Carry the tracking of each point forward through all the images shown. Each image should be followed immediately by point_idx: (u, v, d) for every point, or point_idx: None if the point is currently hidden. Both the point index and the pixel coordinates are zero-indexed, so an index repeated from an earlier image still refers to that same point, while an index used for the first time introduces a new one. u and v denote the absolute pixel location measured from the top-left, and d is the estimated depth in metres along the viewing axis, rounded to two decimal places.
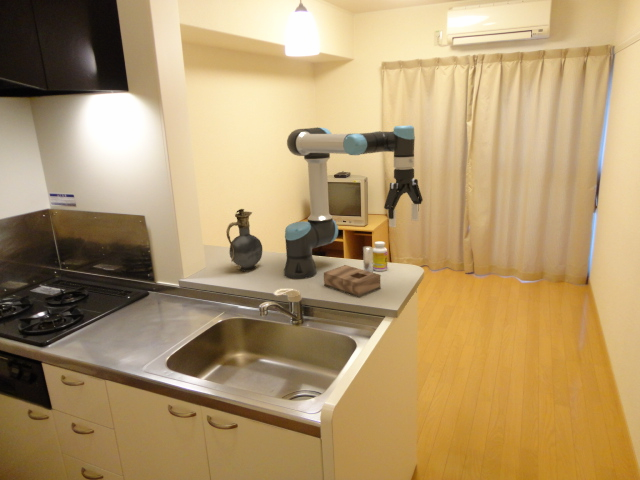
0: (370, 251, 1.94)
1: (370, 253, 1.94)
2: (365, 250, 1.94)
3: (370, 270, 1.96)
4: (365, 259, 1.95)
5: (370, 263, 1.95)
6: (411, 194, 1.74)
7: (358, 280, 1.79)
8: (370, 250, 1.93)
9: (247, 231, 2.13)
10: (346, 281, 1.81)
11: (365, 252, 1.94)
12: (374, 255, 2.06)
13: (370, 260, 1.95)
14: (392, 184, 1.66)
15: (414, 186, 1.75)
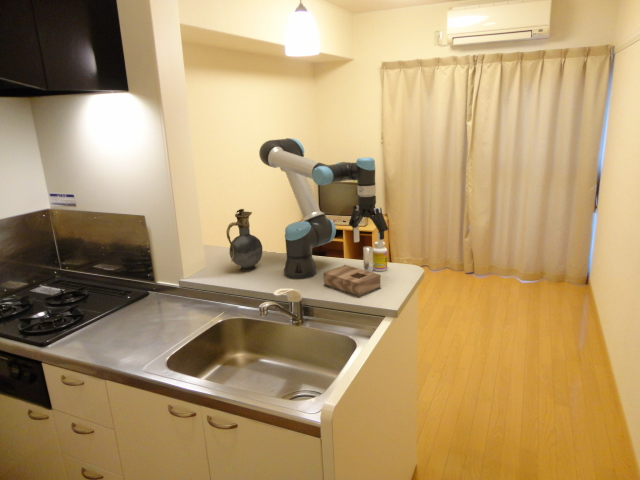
0: (370, 251, 1.94)
1: (370, 253, 1.94)
2: (365, 250, 1.94)
3: (370, 270, 1.96)
4: (365, 259, 1.95)
5: (370, 263, 1.95)
6: None
7: (358, 280, 1.79)
8: (370, 250, 1.93)
9: (247, 231, 2.13)
10: (346, 281, 1.81)
11: (365, 252, 1.94)
12: (374, 255, 2.06)
13: (370, 260, 1.95)
14: None
15: None
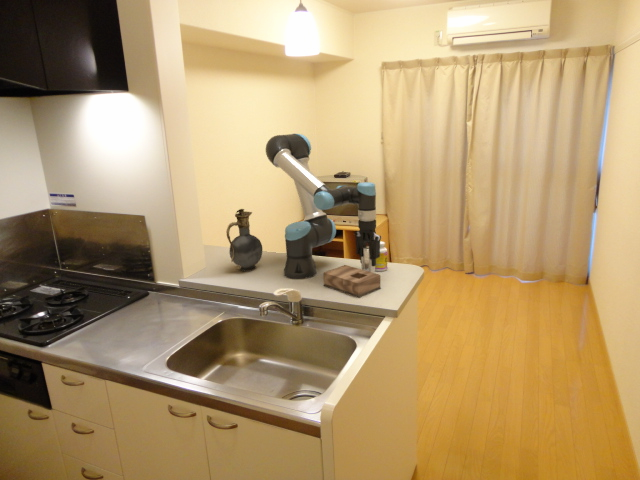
0: None
1: None
2: (365, 250, 1.94)
3: None
4: (365, 259, 1.95)
5: None
6: None
7: (358, 280, 1.79)
8: None
9: (247, 231, 2.13)
10: (346, 281, 1.81)
11: (365, 252, 1.94)
12: None
13: None
14: None
15: None
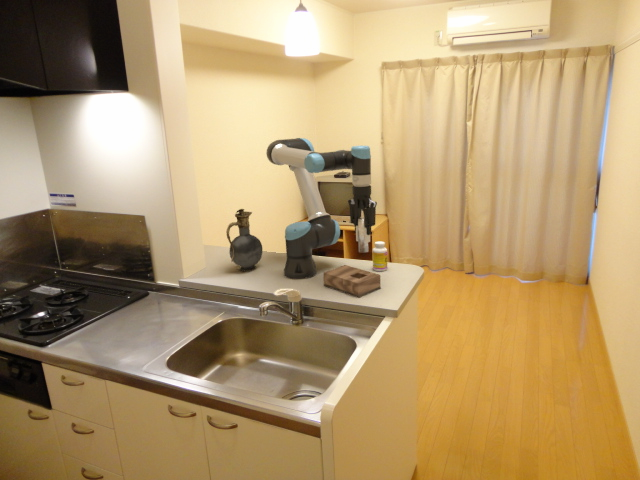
0: None
1: (365, 224, 1.84)
2: (360, 221, 1.84)
3: None
4: (360, 230, 1.85)
5: None
6: None
7: (358, 280, 1.79)
8: None
9: (247, 231, 2.13)
10: (346, 281, 1.81)
11: (360, 223, 1.84)
12: (374, 255, 2.06)
13: None
14: None
15: None
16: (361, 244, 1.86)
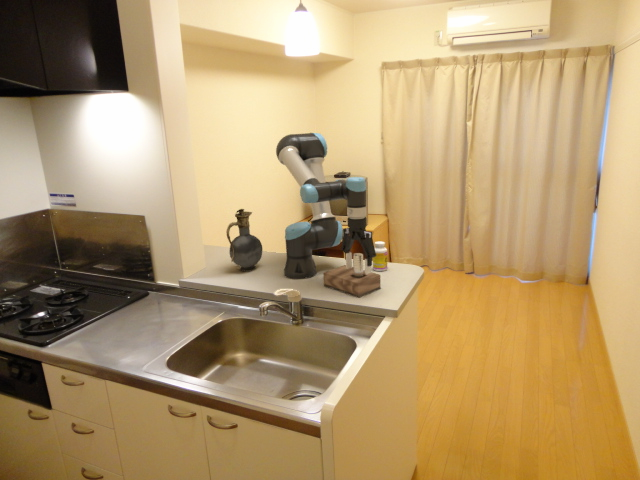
0: (360, 258, 1.81)
1: (360, 260, 1.81)
2: (355, 257, 1.81)
3: None
4: (355, 267, 1.82)
5: (360, 271, 1.82)
6: None
7: (358, 280, 1.79)
8: (360, 257, 1.81)
9: (247, 231, 2.13)
10: (346, 281, 1.81)
11: (355, 259, 1.81)
12: None
13: (360, 268, 1.82)
14: None
15: None
16: None
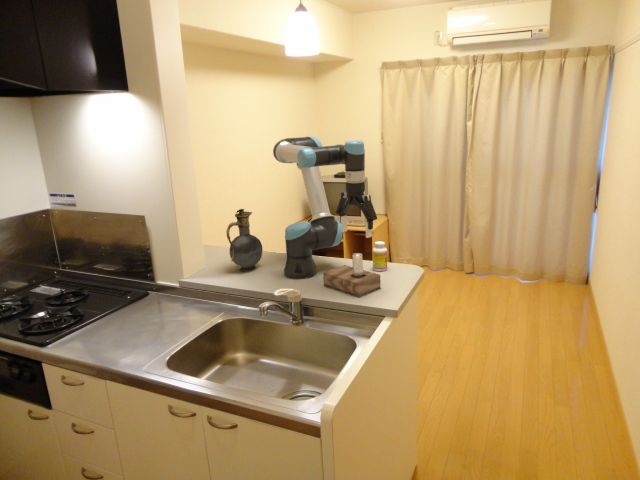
0: (360, 258, 1.81)
1: (359, 260, 1.81)
2: (354, 257, 1.81)
3: None
4: (354, 267, 1.82)
5: (360, 271, 1.82)
6: None
7: (358, 280, 1.79)
8: (360, 257, 1.81)
9: (247, 231, 2.13)
10: (346, 281, 1.81)
11: (354, 259, 1.81)
12: (374, 255, 2.06)
13: (360, 268, 1.82)
14: None
15: None
16: None
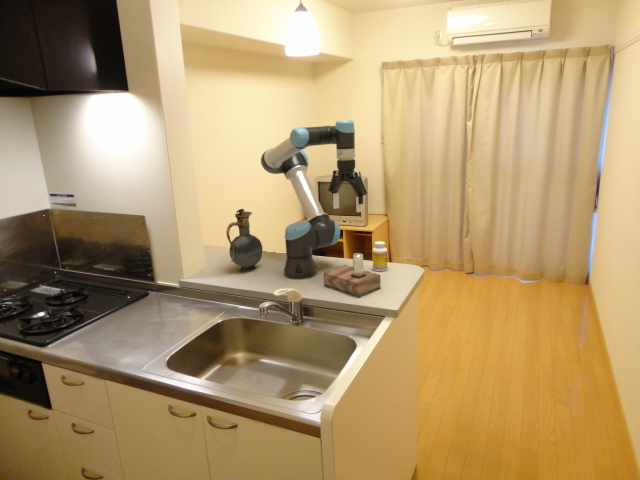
0: (360, 258, 1.81)
1: (360, 260, 1.81)
2: (355, 257, 1.81)
3: None
4: (355, 267, 1.82)
5: (360, 271, 1.82)
6: None
7: (358, 280, 1.79)
8: (360, 257, 1.81)
9: (247, 231, 2.13)
10: (346, 281, 1.81)
11: (355, 259, 1.81)
12: (374, 255, 2.06)
13: (360, 268, 1.82)
14: None
15: None
16: None
